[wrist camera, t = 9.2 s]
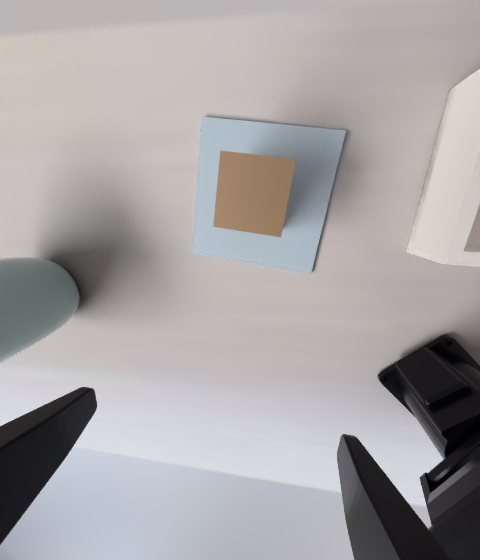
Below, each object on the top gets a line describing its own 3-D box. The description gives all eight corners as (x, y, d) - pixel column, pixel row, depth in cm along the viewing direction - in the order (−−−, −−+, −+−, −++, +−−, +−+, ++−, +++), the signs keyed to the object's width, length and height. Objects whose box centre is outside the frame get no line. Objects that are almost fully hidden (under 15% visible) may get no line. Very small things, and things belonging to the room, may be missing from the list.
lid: (342, 134, 16) (376, 93, 10) (309, 271, 19) (322, 295, 13) (205, 120, 17) (169, 77, 11) (195, 251, 20) (163, 266, 14)
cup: (12, 267, 23) (-170, 305, 14) (63, 237, 21) (-110, 257, 12) (55, 330, 25) (-82, 403, 15) (107, 308, 23) (-15, 376, 13)
